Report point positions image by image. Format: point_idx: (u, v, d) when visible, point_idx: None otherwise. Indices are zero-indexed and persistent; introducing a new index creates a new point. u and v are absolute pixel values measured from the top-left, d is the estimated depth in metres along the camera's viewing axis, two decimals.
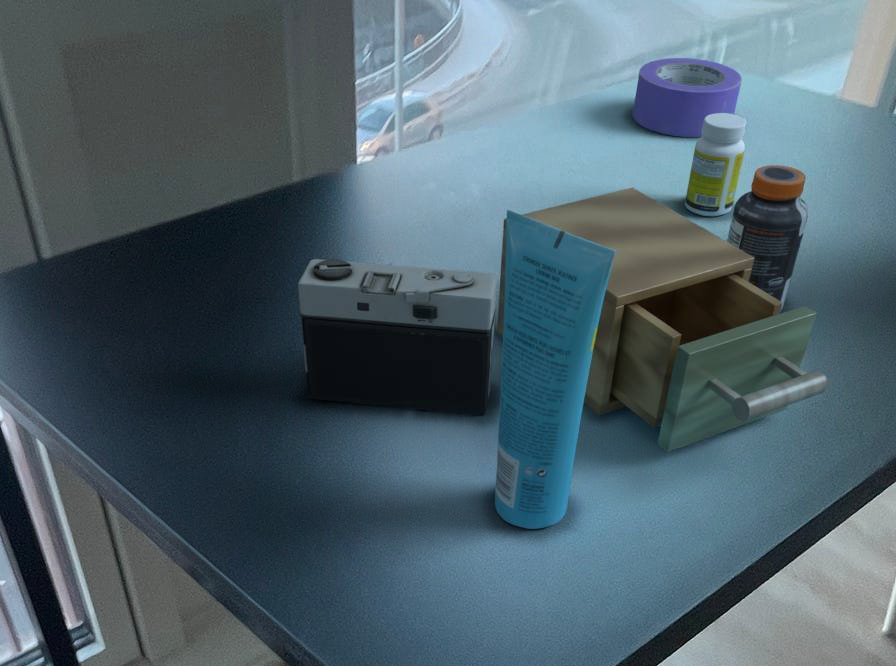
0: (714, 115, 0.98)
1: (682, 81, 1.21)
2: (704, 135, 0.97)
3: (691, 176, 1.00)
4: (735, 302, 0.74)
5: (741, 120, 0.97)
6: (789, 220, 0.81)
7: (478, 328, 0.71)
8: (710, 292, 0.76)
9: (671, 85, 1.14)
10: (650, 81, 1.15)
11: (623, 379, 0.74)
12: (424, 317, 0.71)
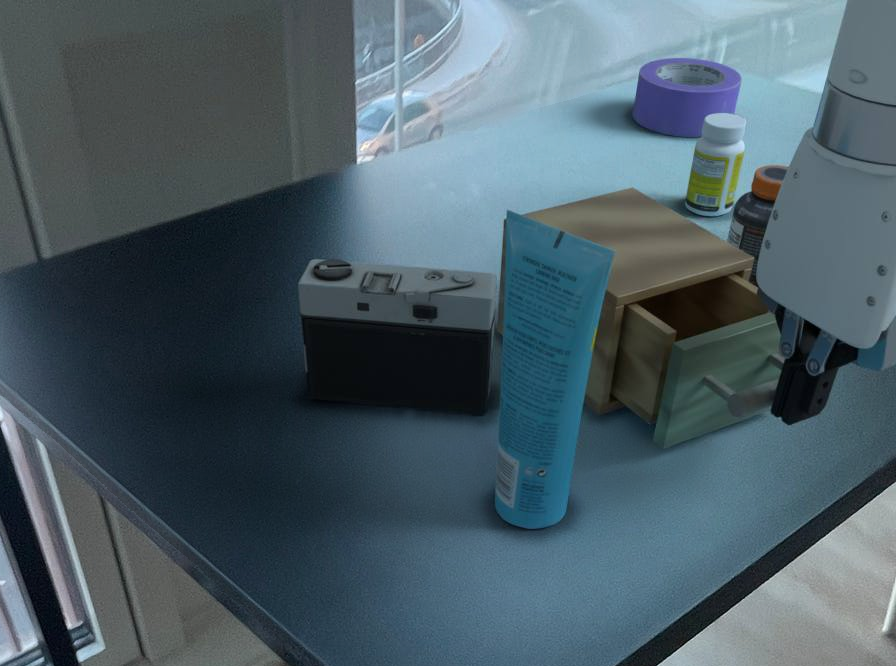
0: (714, 115, 0.98)
1: (682, 81, 1.21)
2: (704, 135, 0.97)
3: (691, 176, 1.00)
4: (730, 300, 0.75)
5: (741, 120, 0.97)
6: None
7: (478, 328, 0.71)
8: (706, 289, 0.77)
9: (671, 84, 1.14)
10: (650, 80, 1.15)
11: (618, 375, 0.75)
12: (424, 317, 0.71)
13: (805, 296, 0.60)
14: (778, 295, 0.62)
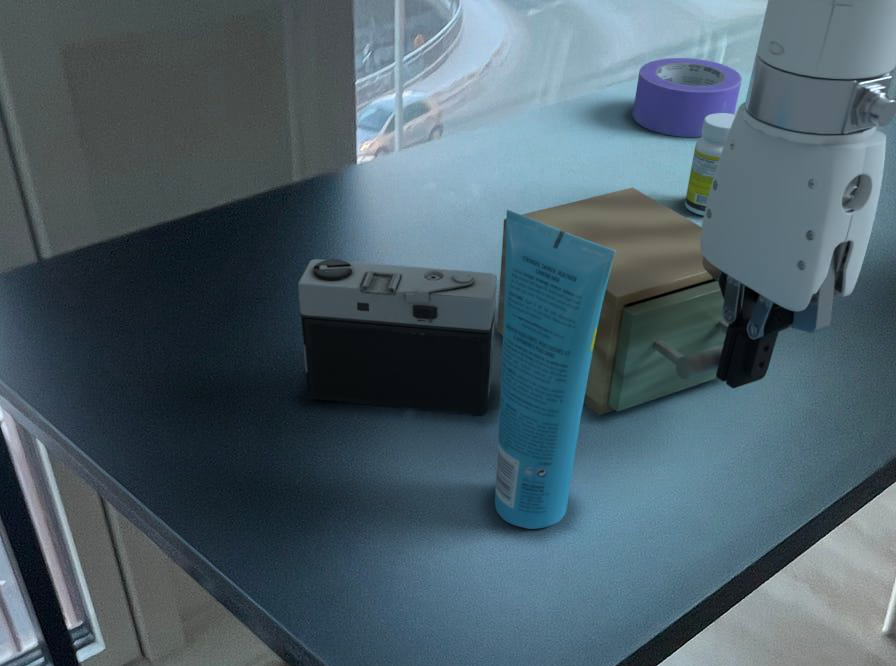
0: (714, 115, 0.98)
1: (682, 81, 1.21)
2: (704, 135, 0.97)
3: (691, 176, 1.00)
4: None
5: None
6: None
7: (478, 328, 0.71)
8: None
9: (671, 85, 1.14)
10: (650, 80, 1.15)
11: None
12: (424, 317, 0.71)
13: (743, 262, 0.64)
14: (720, 262, 0.66)
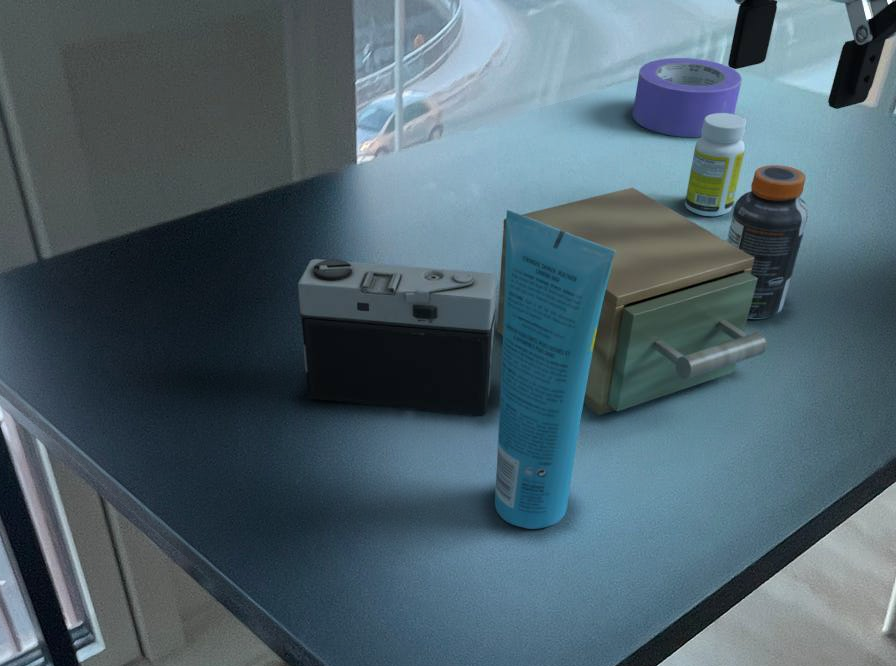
0: (714, 115, 0.98)
1: (682, 81, 1.21)
2: (704, 135, 0.97)
3: (691, 176, 1.00)
4: None
5: (741, 120, 0.97)
6: (789, 220, 0.81)
7: (478, 328, 0.71)
8: None
9: (671, 85, 1.14)
10: (650, 80, 1.15)
11: None
12: (424, 317, 0.71)
13: None
14: None
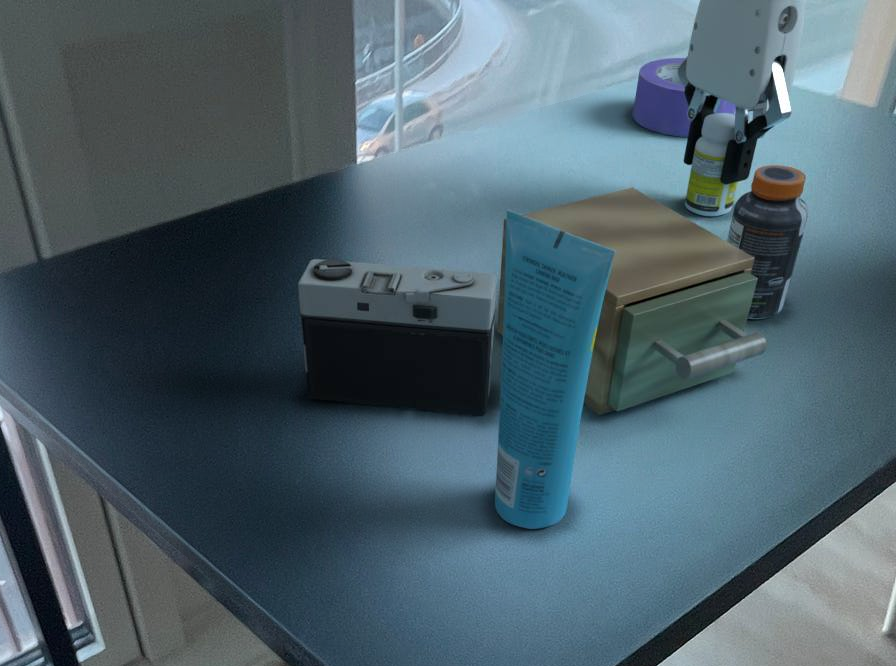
0: (714, 115, 0.98)
1: None
2: (704, 135, 0.97)
3: (691, 176, 1.00)
4: None
5: None
6: (789, 220, 0.81)
7: (478, 328, 0.71)
8: None
9: (671, 84, 1.14)
10: (650, 80, 1.15)
11: None
12: (424, 317, 0.71)
13: (715, 78, 0.93)
14: (699, 82, 0.95)
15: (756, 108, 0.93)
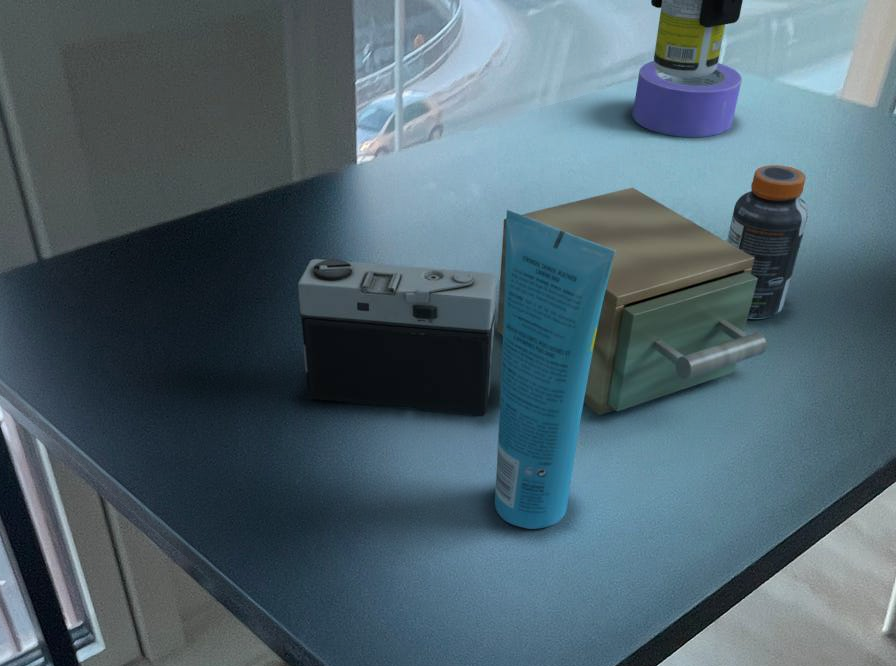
0: None
1: (682, 81, 1.21)
2: None
3: (660, 21, 0.73)
4: None
5: None
6: (789, 220, 0.81)
7: (478, 328, 0.71)
8: None
9: (671, 84, 1.14)
10: (650, 80, 1.15)
11: None
12: (424, 317, 0.71)
13: None
14: None
15: None
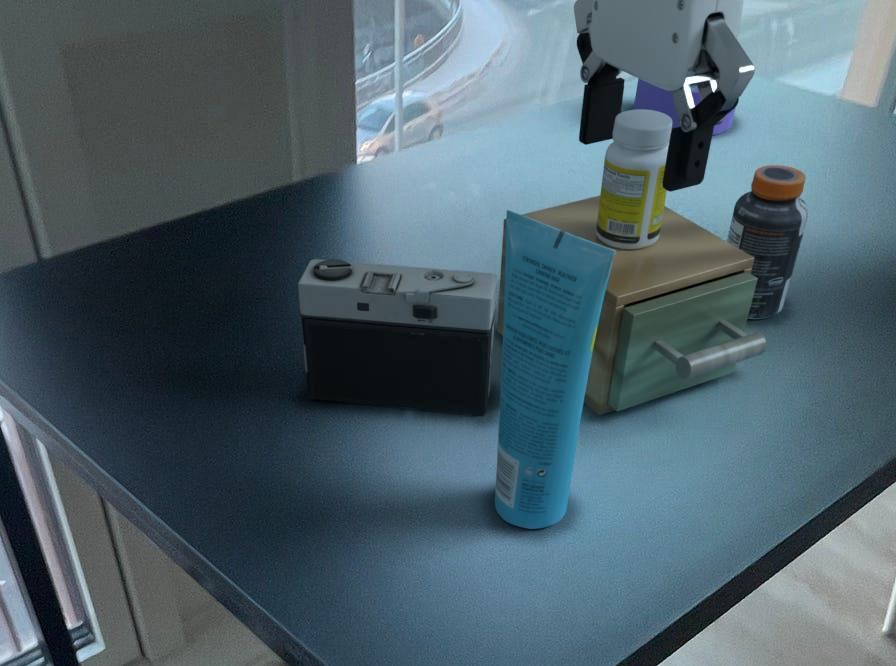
0: (629, 112, 0.71)
1: None
2: (615, 140, 0.71)
3: (601, 195, 0.74)
4: None
5: (666, 118, 0.70)
6: (789, 220, 0.81)
7: (478, 328, 0.71)
8: None
9: None
10: None
11: None
12: (424, 317, 0.71)
13: (627, 48, 0.66)
14: (608, 54, 0.68)
15: (700, 80, 0.65)
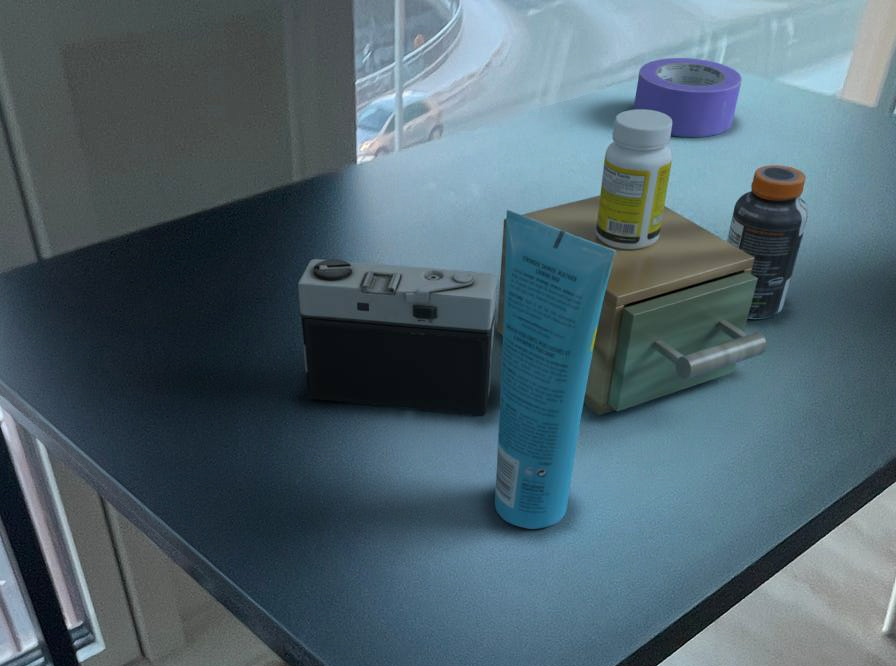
0: (629, 112, 0.71)
1: (682, 81, 1.21)
2: (615, 140, 0.71)
3: (601, 195, 0.74)
4: None
5: (666, 118, 0.70)
6: (789, 220, 0.81)
7: (478, 328, 0.71)
8: None
9: (671, 85, 1.14)
10: (650, 80, 1.15)
11: None
12: (424, 317, 0.71)
13: None
14: None
15: None
